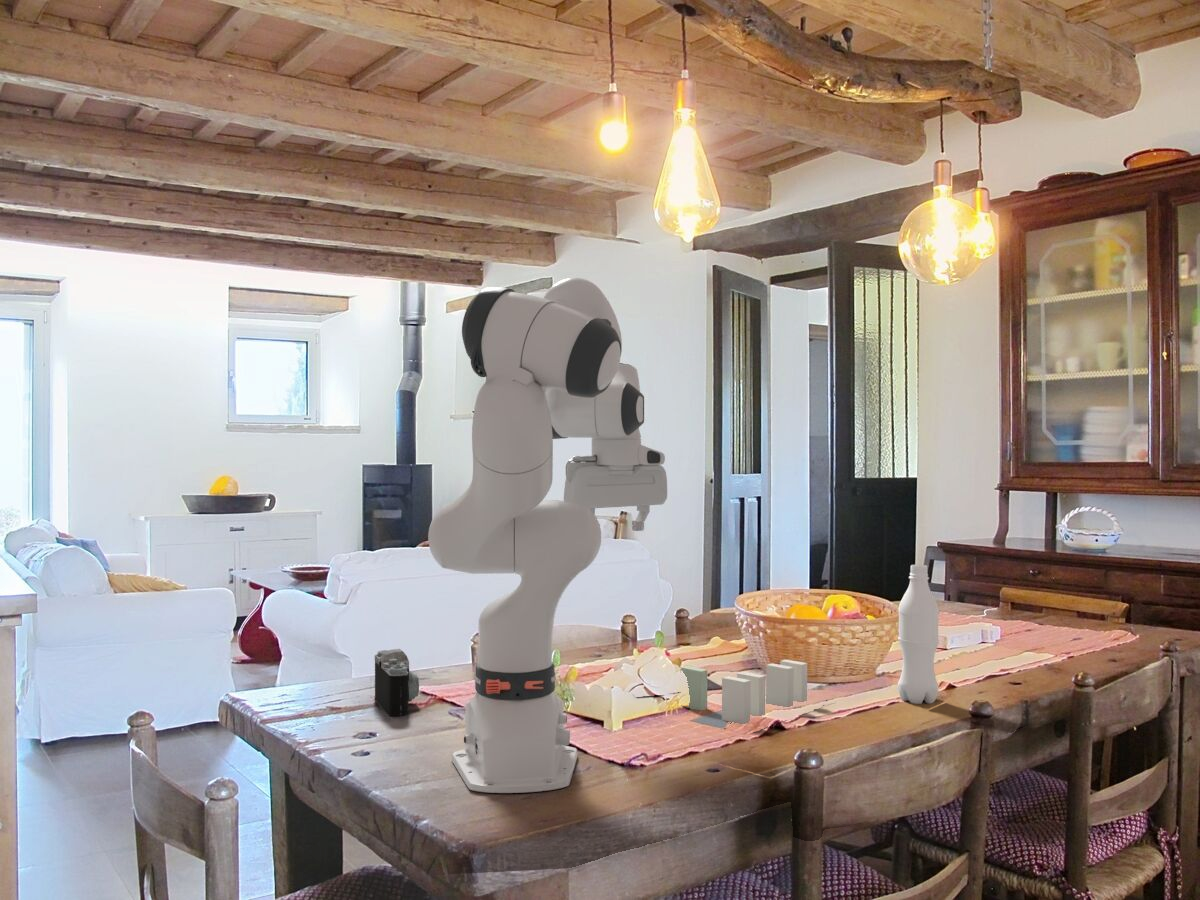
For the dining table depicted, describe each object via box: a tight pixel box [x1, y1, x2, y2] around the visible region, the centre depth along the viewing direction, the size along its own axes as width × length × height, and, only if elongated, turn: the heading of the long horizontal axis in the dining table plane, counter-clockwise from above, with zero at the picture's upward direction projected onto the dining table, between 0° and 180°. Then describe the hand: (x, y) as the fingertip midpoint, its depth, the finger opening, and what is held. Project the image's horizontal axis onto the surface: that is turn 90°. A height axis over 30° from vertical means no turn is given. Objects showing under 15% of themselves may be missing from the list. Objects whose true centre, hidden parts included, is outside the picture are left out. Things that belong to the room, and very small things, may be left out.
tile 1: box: [721, 675, 751, 724], centre depth 176 cm, size 2×5×7 cm, turn 47°
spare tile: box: [680, 665, 708, 711], centre depth 186 cm, size 2×5×7 cm, turn 47°
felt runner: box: [689, 709, 777, 729], centre depth 183 cm, size 28×12×1 cm, turn 137°
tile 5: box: [779, 658, 808, 702], centre depth 190 cm, size 2×5×7 cm, turn 47°
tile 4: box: [765, 663, 794, 707], centre depth 186 cm, size 2×5×7 cm, turn 47°
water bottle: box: [897, 564, 940, 705], centre depth 191 cm, size 7×7×25 cm
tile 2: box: [736, 671, 766, 716], centre depth 180 cm, size 2×5×7 cm, turn 47°
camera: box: [374, 648, 420, 719], centre depth 187 cm, size 15×7×10 cm, turn 24°
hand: (616, 532), depth 186 cm, fingers open, 8 cm apart
